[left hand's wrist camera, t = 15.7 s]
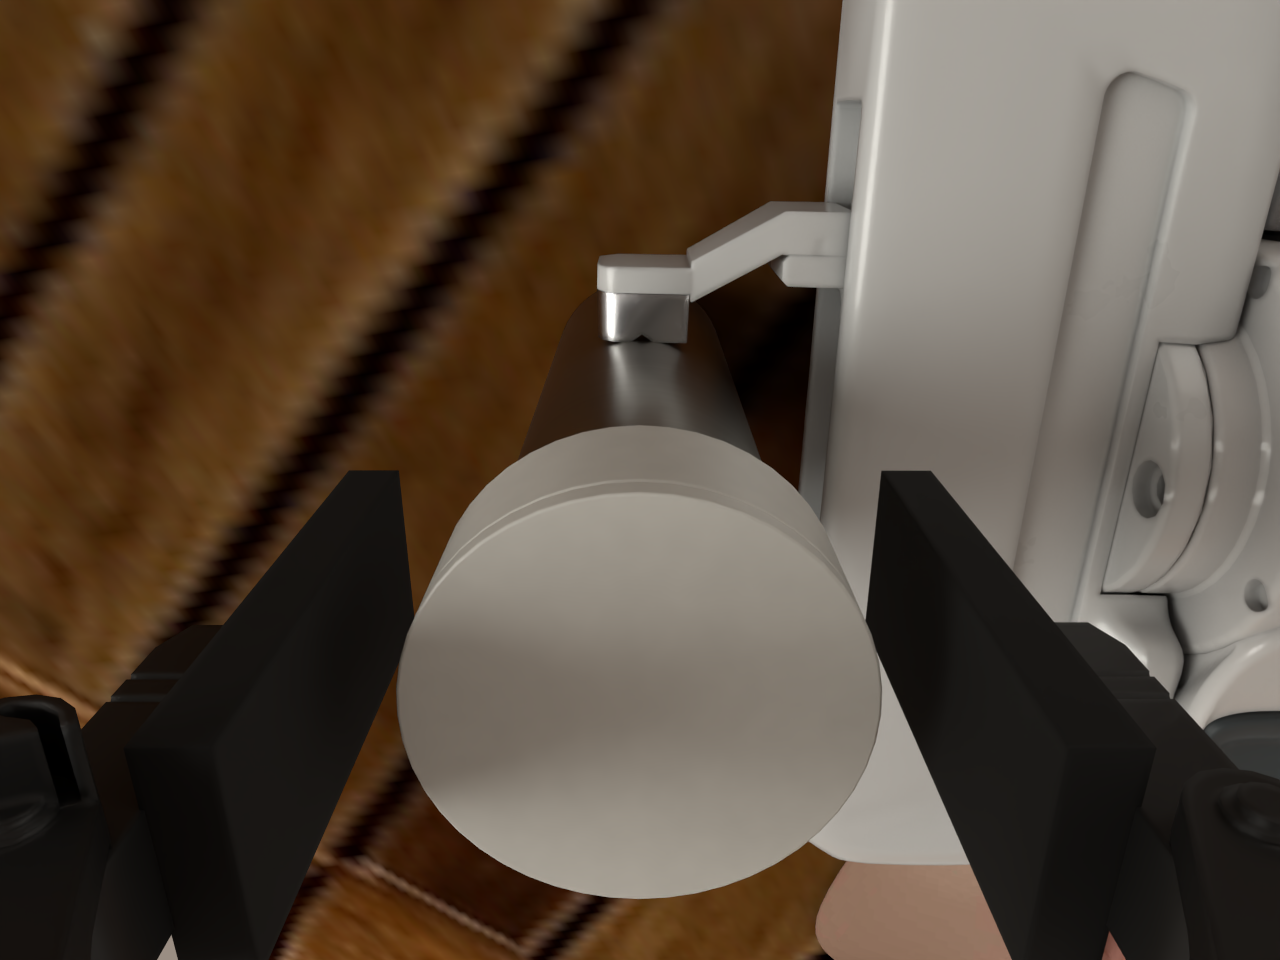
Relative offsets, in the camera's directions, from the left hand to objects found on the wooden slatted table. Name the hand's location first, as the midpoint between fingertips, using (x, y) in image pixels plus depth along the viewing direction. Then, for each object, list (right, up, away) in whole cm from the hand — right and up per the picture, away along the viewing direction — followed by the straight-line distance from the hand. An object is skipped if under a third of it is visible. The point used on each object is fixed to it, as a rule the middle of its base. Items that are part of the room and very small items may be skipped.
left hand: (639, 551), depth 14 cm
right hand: (-1, +2, +5) cm, 6 cm away
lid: (0, -1, -4) cm, 4 cm away
